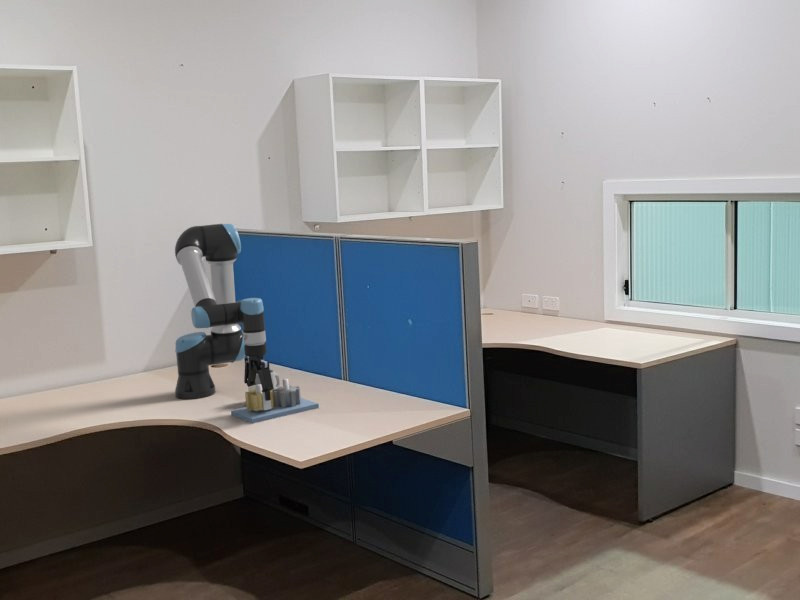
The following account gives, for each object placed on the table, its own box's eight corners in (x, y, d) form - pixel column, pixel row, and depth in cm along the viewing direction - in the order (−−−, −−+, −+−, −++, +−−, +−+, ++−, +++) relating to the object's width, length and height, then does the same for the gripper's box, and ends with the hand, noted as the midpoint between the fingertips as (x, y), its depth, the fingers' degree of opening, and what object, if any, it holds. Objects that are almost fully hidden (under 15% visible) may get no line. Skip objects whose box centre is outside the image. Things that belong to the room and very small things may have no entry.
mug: (264, 405, 335) (262, 375, 333) (248, 402, 340) (246, 373, 338) (288, 397, 344) (286, 368, 342) (272, 395, 349) (269, 366, 348)
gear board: (231, 414, 325) (228, 385, 323) (296, 400, 340) (293, 371, 338) (252, 423, 312) (249, 392, 310) (318, 407, 327) (316, 378, 325)
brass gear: (241, 407, 323) (240, 392, 322) (266, 402, 329) (264, 387, 328) (254, 412, 316) (253, 396, 315) (279, 407, 321) (278, 391, 320)
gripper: (230, 341, 326) (236, 403, 329) (260, 349, 308) (266, 414, 311) (250, 337, 330) (255, 399, 333) (280, 345, 312) (285, 410, 315)
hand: (260, 406), depth 322 cm, fingers closed on brass gear, 10 cm apart
